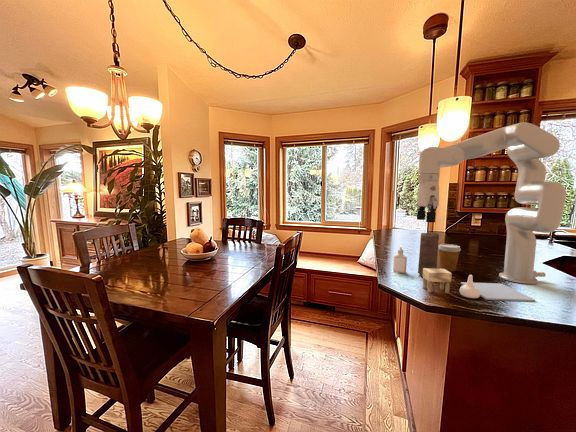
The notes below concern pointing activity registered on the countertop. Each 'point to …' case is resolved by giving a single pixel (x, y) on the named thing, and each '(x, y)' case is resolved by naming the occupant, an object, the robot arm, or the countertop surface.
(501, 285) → the felt mat
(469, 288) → the garlic bulb
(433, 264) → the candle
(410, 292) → the countertop surface
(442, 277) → the beech stool
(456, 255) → the disposable coffee cup
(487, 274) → the countertop surface
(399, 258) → the eye dropper bottle
